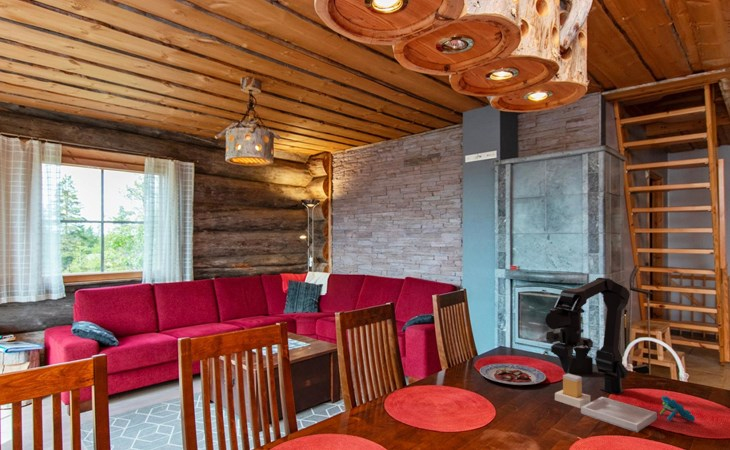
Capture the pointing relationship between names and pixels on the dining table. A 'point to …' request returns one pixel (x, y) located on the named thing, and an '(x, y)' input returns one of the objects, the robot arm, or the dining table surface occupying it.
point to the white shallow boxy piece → (572, 399)
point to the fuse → (572, 385)
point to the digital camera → (584, 369)
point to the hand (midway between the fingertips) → (572, 369)
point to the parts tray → (619, 414)
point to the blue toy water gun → (675, 409)
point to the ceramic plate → (512, 374)
